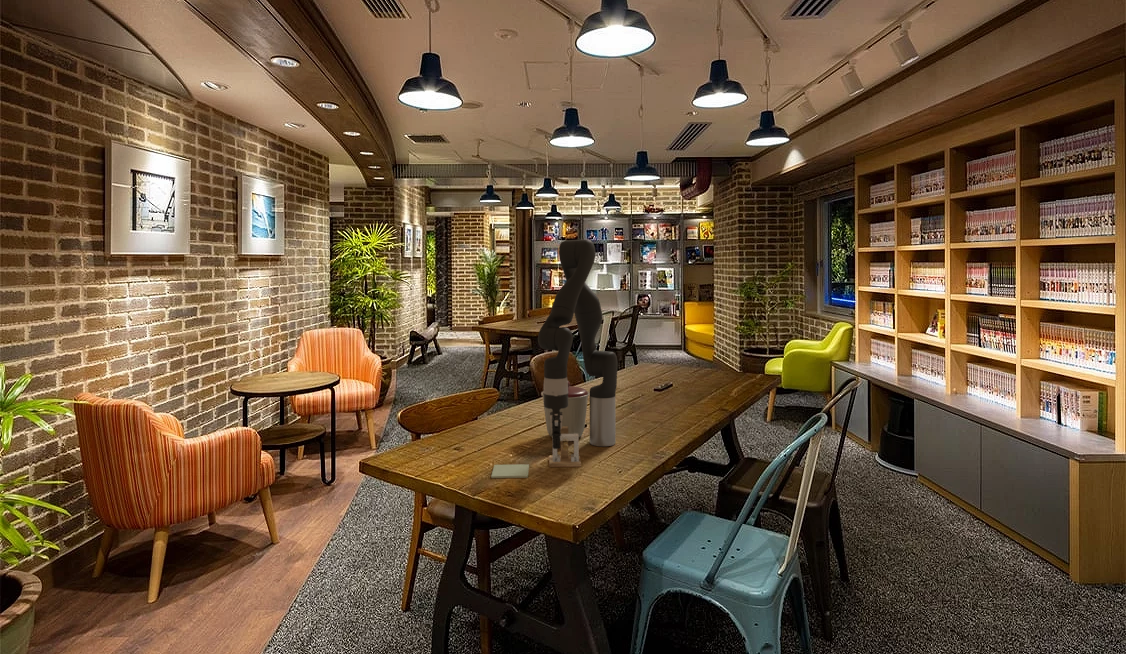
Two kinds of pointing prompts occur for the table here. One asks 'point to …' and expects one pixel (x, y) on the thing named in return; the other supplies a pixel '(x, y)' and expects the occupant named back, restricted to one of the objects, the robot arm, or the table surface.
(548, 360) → the robot arm
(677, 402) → the table surface
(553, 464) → the stand
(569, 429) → the canister
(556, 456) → the pinkish grey arch
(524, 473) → the mat
